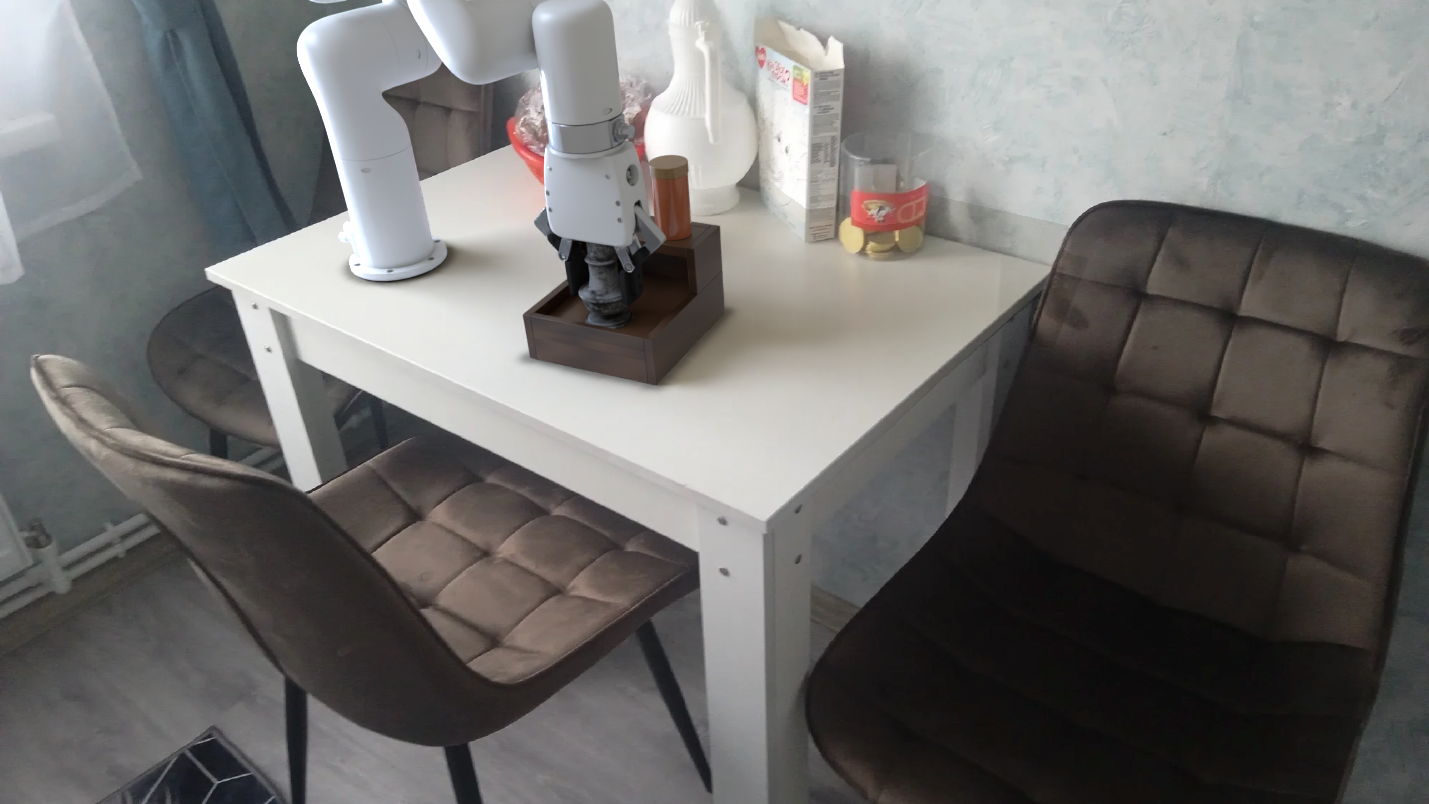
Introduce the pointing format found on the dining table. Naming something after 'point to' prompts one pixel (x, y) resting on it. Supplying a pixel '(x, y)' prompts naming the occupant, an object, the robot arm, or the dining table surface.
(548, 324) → the spice rack
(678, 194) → the spice jar
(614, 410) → the dining table surface
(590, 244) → the salt shaker
